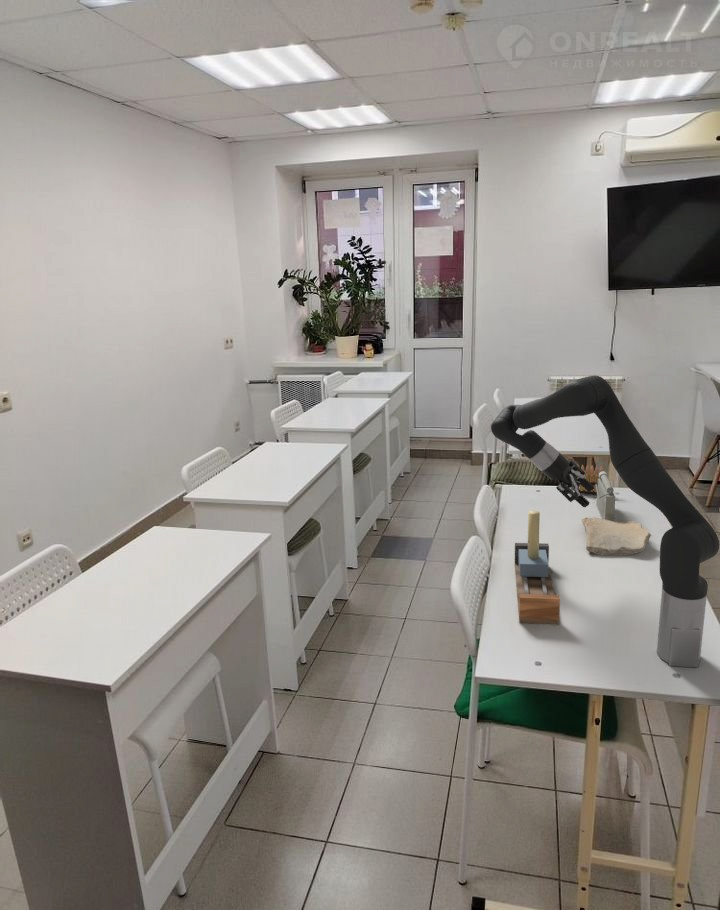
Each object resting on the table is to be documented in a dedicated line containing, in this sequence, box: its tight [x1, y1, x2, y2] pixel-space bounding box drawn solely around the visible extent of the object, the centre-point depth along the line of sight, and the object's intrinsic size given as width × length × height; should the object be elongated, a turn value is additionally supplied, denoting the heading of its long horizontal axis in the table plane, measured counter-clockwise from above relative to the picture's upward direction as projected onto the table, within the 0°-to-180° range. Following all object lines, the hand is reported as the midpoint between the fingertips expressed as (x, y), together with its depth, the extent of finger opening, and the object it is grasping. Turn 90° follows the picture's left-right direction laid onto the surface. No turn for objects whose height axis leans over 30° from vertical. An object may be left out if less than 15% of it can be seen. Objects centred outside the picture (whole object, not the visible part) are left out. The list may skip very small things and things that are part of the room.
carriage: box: [518, 510, 550, 577], centre depth 190 cm, size 10×8×18 cm
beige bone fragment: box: [580, 516, 652, 556], centre depth 213 cm, size 24×8×20 cm
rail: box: [514, 542, 561, 626], centre depth 183 cm, size 34×10×8 cm, turn 169°
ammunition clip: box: [573, 464, 604, 496], centre depth 255 cm, size 11×2×12 cm, turn 69°
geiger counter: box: [595, 470, 616, 521], centre depth 235 cm, size 14×6×25 cm
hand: (589, 497), depth 189 cm, fingers open, 8 cm apart
